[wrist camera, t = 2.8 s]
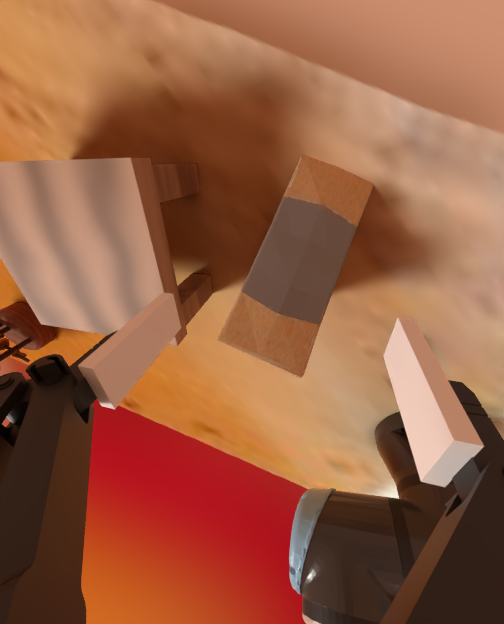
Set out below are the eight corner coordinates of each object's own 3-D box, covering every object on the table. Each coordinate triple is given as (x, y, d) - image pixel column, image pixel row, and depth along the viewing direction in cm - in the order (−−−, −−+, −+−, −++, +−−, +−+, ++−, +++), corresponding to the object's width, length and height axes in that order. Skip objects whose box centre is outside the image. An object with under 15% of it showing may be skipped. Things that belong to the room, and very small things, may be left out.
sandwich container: (378, 182, 25) (432, 207, 12) (310, 299, 33) (303, 381, 21) (301, 151, 25) (278, 144, 13) (254, 275, 34) (214, 342, 21)
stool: (199, 157, 27) (130, 157, 17) (216, 296, 37) (177, 346, 27) (61, 162, 32) (-57, 164, 22) (108, 284, 41) (41, 324, 32)
